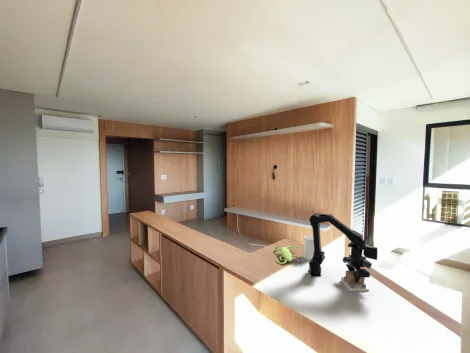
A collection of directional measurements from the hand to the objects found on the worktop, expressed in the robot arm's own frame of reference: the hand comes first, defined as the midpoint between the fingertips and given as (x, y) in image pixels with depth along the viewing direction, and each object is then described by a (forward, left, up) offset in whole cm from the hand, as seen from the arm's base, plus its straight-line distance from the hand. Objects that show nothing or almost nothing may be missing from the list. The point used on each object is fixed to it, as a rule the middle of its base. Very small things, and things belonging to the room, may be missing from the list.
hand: (354, 280), depth 128 cm
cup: (-15, +35, -4) cm, 38 cm away
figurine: (-31, +37, -4) cm, 49 cm away
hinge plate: (0, 0, -3) cm, 3 cm away
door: (0, 0, -1) cm, 1 cm away
